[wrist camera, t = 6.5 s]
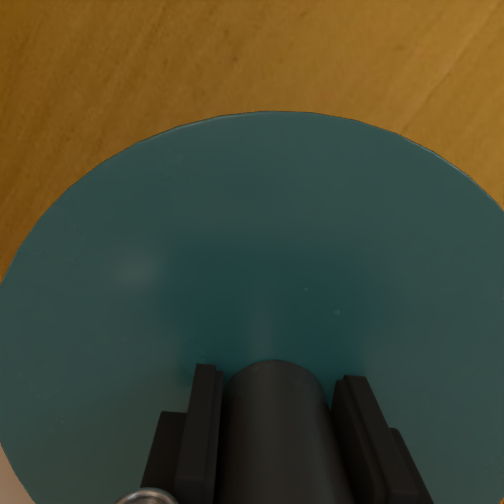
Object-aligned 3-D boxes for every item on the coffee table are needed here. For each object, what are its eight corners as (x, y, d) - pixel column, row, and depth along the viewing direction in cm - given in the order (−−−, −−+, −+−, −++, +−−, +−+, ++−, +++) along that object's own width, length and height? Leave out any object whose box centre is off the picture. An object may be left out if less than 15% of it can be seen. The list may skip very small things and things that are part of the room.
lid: (21, 559, 16) (-129, 862, 9) (-14, 79, 11) (-359, 39, 5) (461, 584, 17) (598, 882, 10) (604, 142, 12) (1025, 183, 5)
